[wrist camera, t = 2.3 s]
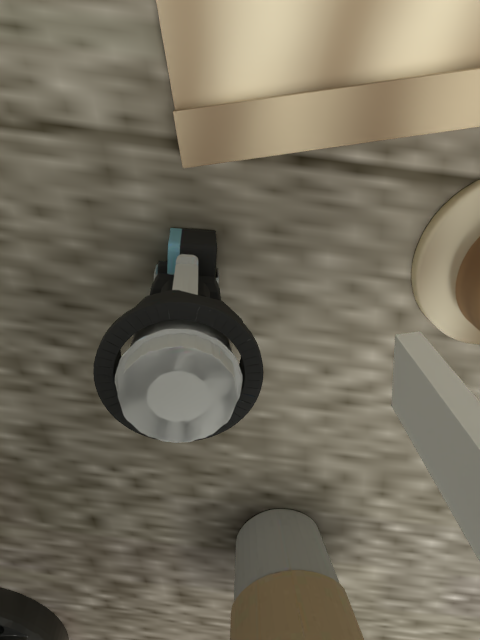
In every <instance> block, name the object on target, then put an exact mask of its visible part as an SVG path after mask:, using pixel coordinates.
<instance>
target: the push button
mask: <svg viewBox="0 0 480 640" xmlns="http://www.w3.org/2000/svg"><path fill="white" fill-rule="evenodd" d="M216 254H217V243H216V233H215V231H209V230H195V229H179V228H170V237H169V242H168V262H166V261H159V262H158V264H156V268H155V272H154V281H153V284H152V288H151V292H150V295H149V296H147V297H145V298H144V299H143V300H142V301H141V302H140V303H139V304H138V305H137V306H136V307H134V308H133V309H131V310H130V311H128V312H126V313H125V314H124V315H122V316H121V317H120V318H118V319H117V320H116V321H115V322H114V323H113V324H112V326H111V327H110V328H109V329H108V330H107V332H106V334H105V335H104V337H103V339H102V341H101V343H100V345H99V348H98V350H97V354H96V357H95V362H94V381H95V386H96V389H97V392H98V395H99V397H100V399H101V401H102V403H103V404H104V406H105V407H106V409H107V410H108V411H109V412H110V413H111V415H113V416H114V417H115V418H116V419H117V420H118V421H119V422H120V423H122V424H123V425H124V426H126V427H127V428H129V429H131V430H133V431H135V432H136V433H139V434H141V435H144V436H146V437H150V438H153V439H157V440H161V441H164V442H175V443H179V442H191V441H196V440H201V439H205V438H209V437H212V436H215V435H217V434H219V433H221V432H224V431H225V430H227V429H229V428H231V427H232V426H234V425H235V424H236V423H238V422H239V421H240V420H241V419H242V418H243V417H244V416H245V415H246V414H247V413H248V412H249V411H250V409H251V408H252V407H253V405H254V403H255V402H256V400H257V398H258V396H259V393H260V390H261V387H262V382H263V363H262V358H261V354H260V350H259V347H258V345H257V342H256V340H255V338H254V337H253V335H252V333H251V332H250V331H249V329H248V328H247V327H246V326H245V324H243V321H242V319H241V318H240V317H239V316H238V315H237V314H236V313H235V312H234V311H232V310H231V309H230V308H229V307H228V306H227V305H226V304H225V303H224V302H222V301H221V297H220V289H219V270H218V268H217V270H216V278H215V267H216ZM132 335H134V337H133V340H132V343H131V347H130V348H129V349H128V350H127V351H126V352H125V353H124V354H123V355H122V357H121V350H120V349H121V347H122V346H123V345H124V343H125V342H126V341H127V340H128V339H129V338H130V337H131V336H132ZM230 341H231V342H232V343H233V344H234V345H235V346H236V348H237V349H238V351H239V353H240V355H241V359H240V363H239V364H238V361H237V359H236V357H235V356H234V354H233V353H232V347H231V342H230Z"/></svg>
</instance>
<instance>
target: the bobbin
mask: <svg viewBox="0 0 480 640" xmlns="http://www.w3.org/2000/svg"><path fill="white" fill-rule="evenodd" d="M411 283H412V289H413V294H414V297H415V300H416V302H417V304H418V306H419V308H420V310H421V311H422V312H423V314H424V315H425V316H426V317H427V318H428V319H429V320H430V321H431V322H432V323H433V324H434V325H435V326H436V327H437V328H438V329H439V330H440V331H441V332H443V333H444V334H446V335H447V336H449V337H451V338H453V339H455V340H458V341H462V342H465V343H471V344H480V180H477V181H475V182H473V183H472V184H470V185H469V186H467V187H465V188H464V189H462V190H461V191H460V192H458V193H457V194H456V195H454V196H453V197H452V198H451V199H450V200H449V201H448V202H447V203H446V204H445V205H443V206H442V207H441V209H440V210H439V211H438V212H437V213H436V215H435V216H434V217H433V218H432V220H431V221H430V223H429V224H428V226H427V227H426V229H425V231H424V232H423V234H422V236H421V238H420V240H419V243H418V245H417V248H416V251H415V254H414V258H413V263H412V271H411Z"/></svg>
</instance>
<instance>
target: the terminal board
mask: <svg viewBox="0 0 480 640" xmlns="http://www.w3.org/2000/svg"><path fill="white" fill-rule="evenodd" d="M156 3H157V9H158V15H159V21H160V26H161V32H162V38H163V44H164V49H165V55H166V61H167V67H168V73H169V78H170V84H171V90H172V96H173V101H174V107H175V110H174V111H173V115H174V121H175V127H176V132H177V138H178V144H179V149H180V155H181V161H182V167H183V168H189V167H196V166H203V165H211V164H218V163H225V162H232V161H239V160H246V159H253V158H260V157H267V156H274V155H281V154H288V153H296V152H303V151H310V150H317V149H324V148H331V147H338V146H345V145H352V144H359V143H366V142H373V141H381V140H388V139H395V138H402V137H409V136H416V135H423V134H430V133H437V132H444V131H451V130H459V129H466V128H473V127H480V0H156Z"/></svg>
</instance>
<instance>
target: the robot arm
mask: <svg viewBox="0 0 480 640" xmlns="http://www.w3.org/2000/svg"><path fill="white" fill-rule="evenodd" d="M392 408H393V409H394V411H395V413H396V415H397V416H398V418H399V420H400V422H401V423H402V425H403V427H404V429H405V431H406V432H407V434H408V436H409V438H410V439H411V441H412V443H413V445H414V447H415V448H416V450H417V452H418V454H419V455H420V457H421V459H422V461H423V462H424V464H425V466H426V468H427V470H428V471H429V473H430V475H431V477H432V478H433V480H434V482H435V484H436V485H437V487H438V489H439V491H440V493H441V494H442V496H443V498H444V500H445V501H446V503H447V505H448V507H449V509H450V510H451V512H452V514H453V516H454V517H455V519H456V521H457V523H458V524H459V526H460V528H461V530H462V532H463V533H464V535H465V537H466V539H467V540H468V542H469V544H470V546H471V548H472V549H473V551H474V553H475V555H476V556H477V558H478V560H479V562H480V401H479V400H478V399H477V398H476V397H475V396H474V394H473V393H472V392H471V391H470V390H469V388H468V387H467V386H466V385H465V384H464V383H463V381H462V380H461V379H460V378H459V377H458V375H457V374H456V373H455V372H454V371H453V370H452V368H451V367H450V366H449V365H448V364H447V362H446V361H445V360H444V359H443V358H442V356H441V355H440V354H439V353H438V352H437V351H436V349H435V348H434V347H433V346H432V345H431V343H430V342H429V341H428V340H427V339H426V338H425V336H424V335H423V334H422V333H421V332H420V331H419V332H412V333H405V334H397V335H395V348H394V368H393V387H392ZM0 640H69V638H68V634H67V631H66V629H65V627H64V625H63V624H62V622H61V621H60V620H59V618H58V617H57V616H56V615H55V614H54V613H52V612H51V611H50V610H49V609H47V608H46V607H45V606H43V605H42V604H40V603H38V602H37V601H35V600H33V599H31V598H29V597H26V596H24V595H22V594H19V593H16V592H14V591H10V590H7V589H4V588H0Z"/></svg>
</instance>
